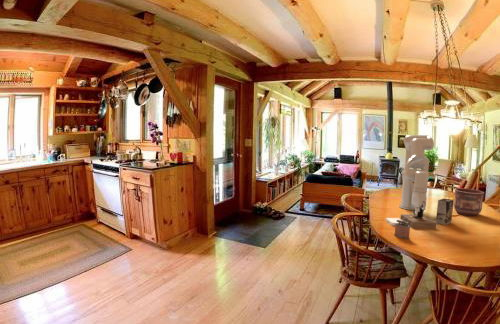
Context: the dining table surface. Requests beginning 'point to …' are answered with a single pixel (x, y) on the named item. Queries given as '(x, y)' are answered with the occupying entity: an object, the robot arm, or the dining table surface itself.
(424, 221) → the plate
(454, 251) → the dining table surface
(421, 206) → the peg
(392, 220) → the white square base plate
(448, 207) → the coffee box
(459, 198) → the pottery
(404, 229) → the lighter
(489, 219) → the dining table surface
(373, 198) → the dining table surface
